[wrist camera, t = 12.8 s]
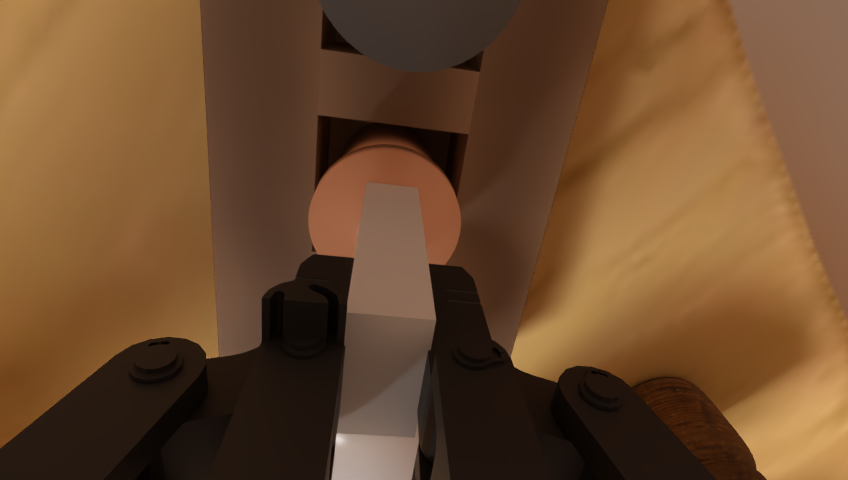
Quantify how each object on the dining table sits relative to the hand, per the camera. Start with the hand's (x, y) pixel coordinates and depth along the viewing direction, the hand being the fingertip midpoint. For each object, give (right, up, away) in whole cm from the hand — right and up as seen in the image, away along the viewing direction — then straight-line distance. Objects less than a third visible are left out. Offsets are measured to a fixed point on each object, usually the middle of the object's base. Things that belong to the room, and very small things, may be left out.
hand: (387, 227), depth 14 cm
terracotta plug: (0, +3, +6) cm, 6 cm away
